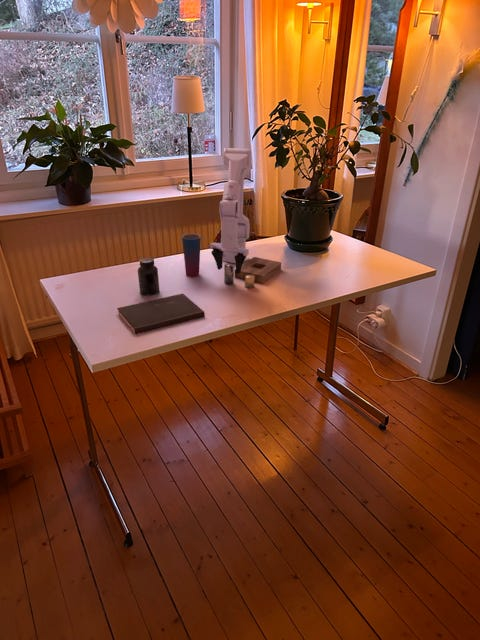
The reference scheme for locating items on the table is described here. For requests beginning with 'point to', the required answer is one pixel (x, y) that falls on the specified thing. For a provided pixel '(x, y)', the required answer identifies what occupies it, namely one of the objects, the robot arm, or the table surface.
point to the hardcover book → (160, 313)
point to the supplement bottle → (148, 277)
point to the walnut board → (259, 269)
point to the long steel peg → (228, 274)
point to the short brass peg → (249, 281)
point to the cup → (191, 253)
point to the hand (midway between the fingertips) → (229, 270)
